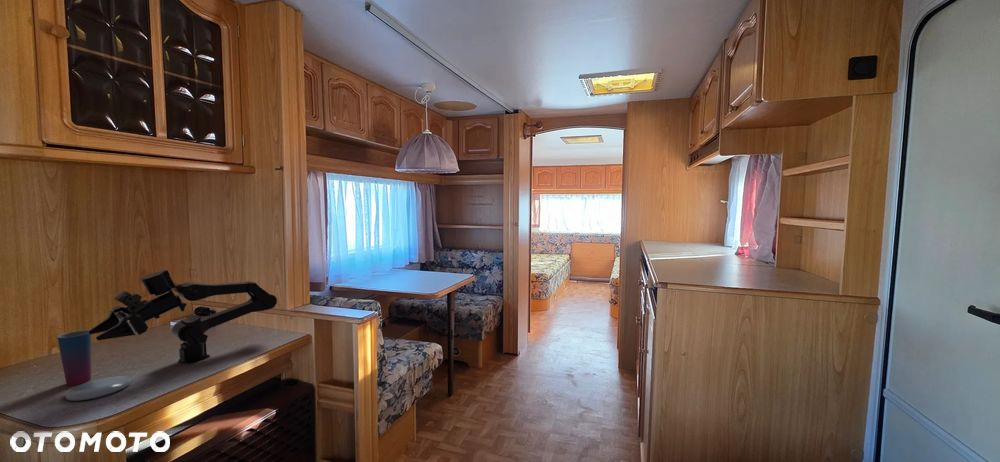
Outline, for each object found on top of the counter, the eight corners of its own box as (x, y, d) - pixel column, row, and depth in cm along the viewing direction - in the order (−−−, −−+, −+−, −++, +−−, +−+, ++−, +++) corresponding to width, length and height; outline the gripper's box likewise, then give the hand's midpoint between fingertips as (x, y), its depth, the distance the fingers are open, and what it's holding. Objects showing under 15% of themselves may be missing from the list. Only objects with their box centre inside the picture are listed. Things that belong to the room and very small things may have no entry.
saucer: (115, 377, 119) (114, 373, 119) (141, 383, 115) (140, 379, 115) (55, 397, 107) (55, 393, 107) (82, 405, 103) (81, 401, 103)
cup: (101, 376, 120) (97, 329, 119) (78, 387, 113) (74, 337, 112) (79, 376, 120) (74, 330, 118) (54, 387, 113) (49, 337, 112)
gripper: (135, 281, 126) (70, 307, 114) (153, 288, 116) (84, 318, 104) (152, 310, 130) (91, 338, 118) (171, 319, 120) (106, 351, 108)
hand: (92, 335), depth 112 cm, fingers open, 9 cm apart
